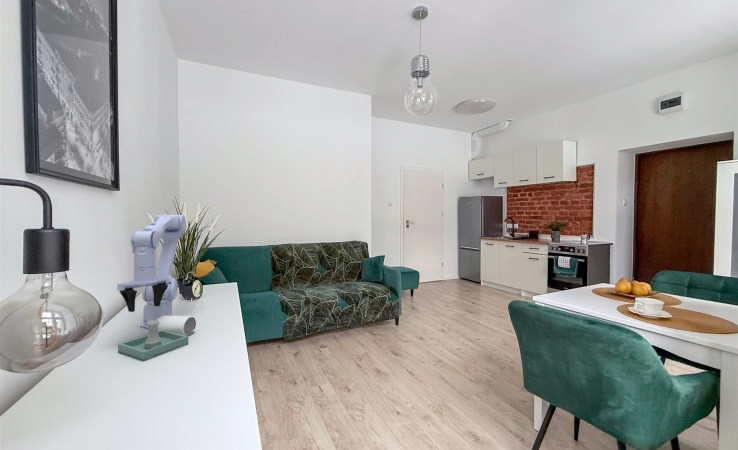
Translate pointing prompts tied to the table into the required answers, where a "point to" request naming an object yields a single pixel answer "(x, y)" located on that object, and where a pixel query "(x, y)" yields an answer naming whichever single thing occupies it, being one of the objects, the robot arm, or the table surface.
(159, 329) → the can
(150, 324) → the rook chess piece
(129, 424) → the table surface
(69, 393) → the table surface
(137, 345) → the tray
